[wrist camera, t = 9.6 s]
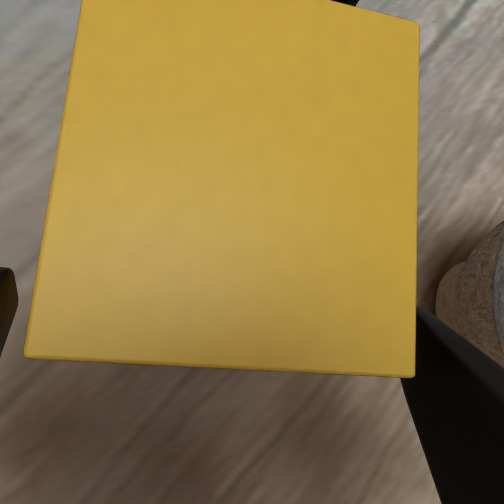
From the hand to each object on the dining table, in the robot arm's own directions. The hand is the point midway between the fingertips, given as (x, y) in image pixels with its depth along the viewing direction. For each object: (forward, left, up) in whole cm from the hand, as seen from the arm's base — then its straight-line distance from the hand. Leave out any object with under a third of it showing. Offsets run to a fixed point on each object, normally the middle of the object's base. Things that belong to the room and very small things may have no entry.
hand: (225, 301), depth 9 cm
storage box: (+2, -1, -10) cm, 10 cm away
